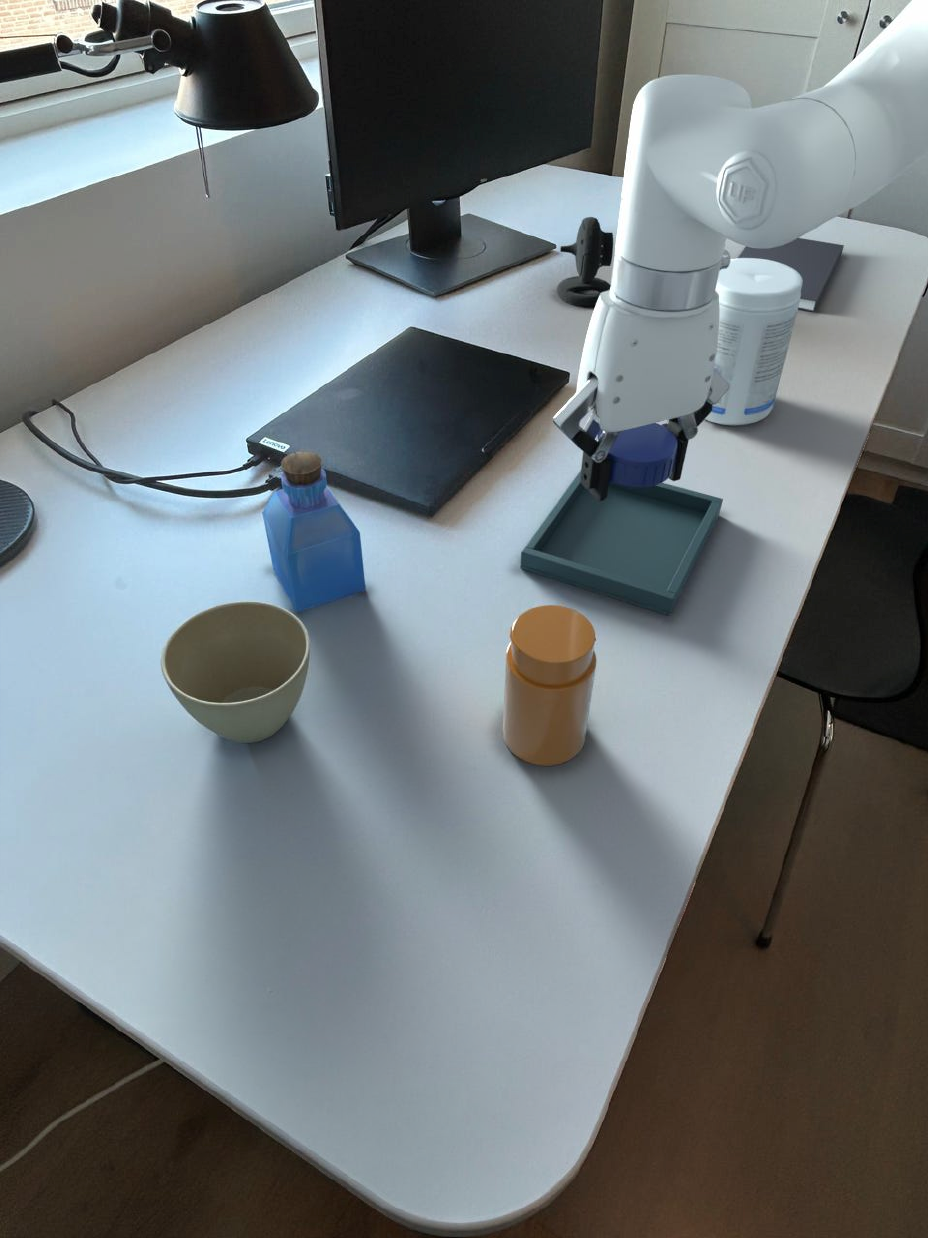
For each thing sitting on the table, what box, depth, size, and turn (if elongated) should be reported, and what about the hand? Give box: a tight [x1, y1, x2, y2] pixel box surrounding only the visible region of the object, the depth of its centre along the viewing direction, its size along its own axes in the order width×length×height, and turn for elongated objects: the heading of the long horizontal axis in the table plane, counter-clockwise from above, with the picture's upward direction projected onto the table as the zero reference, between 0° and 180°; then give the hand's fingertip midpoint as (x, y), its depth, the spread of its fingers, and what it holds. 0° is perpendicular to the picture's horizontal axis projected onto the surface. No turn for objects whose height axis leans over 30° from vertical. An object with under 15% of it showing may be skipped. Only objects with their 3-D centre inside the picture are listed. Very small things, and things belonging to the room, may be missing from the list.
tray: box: [519, 469, 724, 617], centre depth 79 cm, size 16×14×2 cm
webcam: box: [556, 216, 614, 307], centre depth 115 cm, size 8×8×10 cm
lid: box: [596, 422, 678, 487], centre depth 74 cm, size 7×7×2 cm
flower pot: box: [160, 600, 311, 744], centre depth 63 cm, size 10×10×7 cm
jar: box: [502, 604, 597, 767], centre depth 60 cm, size 6×6×10 cm
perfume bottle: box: [262, 450, 367, 613], centre depth 72 cm, size 6×6×12 cm
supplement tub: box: [704, 257, 803, 426], centre depth 92 cm, size 10×10×15 cm
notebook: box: [736, 237, 845, 313], centre depth 123 cm, size 13×2×21 cm
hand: (630, 480), depth 76 cm, fingers closed on lid, 6 cm apart
